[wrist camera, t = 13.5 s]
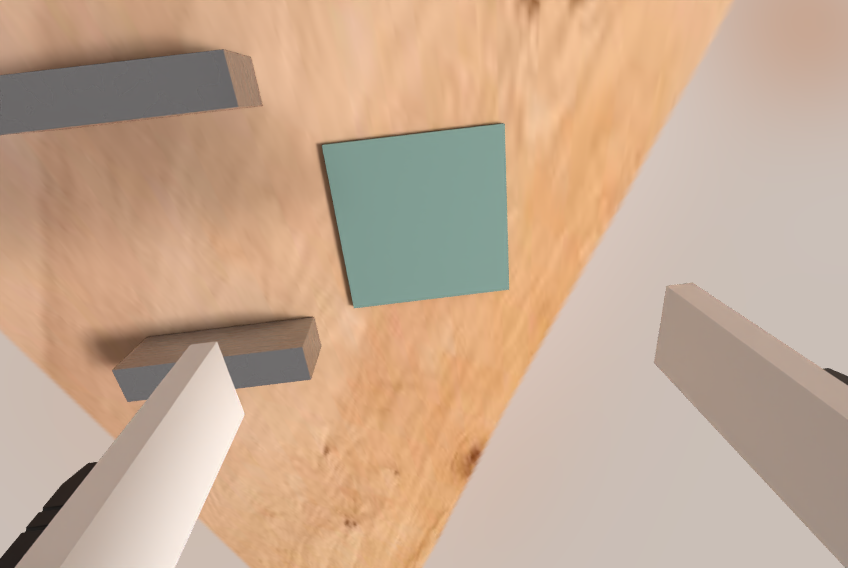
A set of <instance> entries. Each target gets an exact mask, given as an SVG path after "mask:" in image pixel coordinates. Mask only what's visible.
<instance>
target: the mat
mask: <svg viewBox="0 0 848 568" xmlns="http://www.w3.org/2000/svg"><path fill="white" fill-rule="evenodd" d="M322 149H323V154H324V159H325V164H326V169H327V174H328V180H329V185H330V190H331V195H332V200H333V205H334V210H335V215H336V220H337V225H338V230H339V235H340V240H341V245H342V250H343V255H344V261H345V266H346V271H347V276H348V281H349V286H350V291H351V296H352V301H353V306H354V308H360V307H369V306H377V305H385V304H393V303H402V302H410V301H418V300H426V299H435V298H443V297H451V296H460V295H468V294H476V293H484V292H493V291H501V290H509V268H508V231H507V194H506V157H505V124H504V123H501V124H493V125H484V126H476V127H467V128H459V129H450V130H442V131H434V132H425V133H417V134H408V135H400V136H391V137H383V138H374V139H366V140H357V141H349V142H340V143H332V144H324V145H322Z"/></svg>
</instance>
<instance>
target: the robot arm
mask: <svg viewBox="0 0 848 568" xmlns="http://www.w3.org/2000/svg"><path fill="white" fill-rule="evenodd" d="M654 363H655V364H656V366H657V367H658V368H659V369H660V370H661V371H662V372H663V373H664V374H665V375H666V376H667V377H668V378H669V379H670V381H671V382H672V383H674V385H675V386H676V387H677V388H678V389H679V390H680V391H681V392H682V393H683V394H684V395H685V397H686V398H687V399H688V400H689V401H690V402H691V403H692V404H693V405H694V406H695V407H696V408H697V409H698V410H699V412H700V413H701V414H702V415H703V416H704V417H705V418H706V419H707V420H708V421H709V422H710V423H711V424H712V425H713V426H714V428H715V429H716V430H717V431H718V432H719V433H720V434H721V435H722V436H723V437H724V438H725V439H726V440H727V441H728V443H729V444H730V445H731V446H732V447H733V448H734V449H735V450H736V451H737V452H738V453H739V454H740V455H741V457H742V458H743V459H744V460H745V461H746V462H747V463H748V464H749V465H750V466H751V467H752V468H753V469H754V470H755V472H757V474H758V475H759V476H760V477H761V478H762V479H763V480H764V481H765V482H766V483H767V484H768V485H769V487H770V488H772V490H773V491H774V492H775V493H776V494H777V495H778V496H779V497H780V498H781V499H782V500H783V501H784V502H785V504H786V505H787V506H788V507H789V508H790V509H791V510H792V511H793V512H794V513H795V514H796V515H797V516H798V517H799V519H800V520H801V521H802V522H803V523H804V524H805V525H806V526H807V527H808V528H809V529H810V530H811V531H812V533H813V534H814V535H815V536H816V537H817V538H818V539H819V540H820V541H821V542H822V543H823V544H824V545H825V546H826V548H828V550H829V551H830V552H831V553H832V554H833V555H834V556H835V557H836V558H837V559H838V560H839V561H840V563H841V564H842V565H843V566H844V567H845V568H848V376H846V375H844V374H841V373H839V372H836V371H834V370H832V369H829V368H825V369H822V368H820V367H819V366H817V365H816V364H814V363H813V362H811V361H810V360H808V359H807V358H805V357H804V356H802V355H801V354H799V353H798V352H796V351H795V350H793V349H792V348H790V347H789V346H787V345H786V344H784V343H783V342H781V341H779V340H778V339H777V338H775V337H774V336H772V335H771V334H769V333H767V332H766V331H765V330H763V329H762V328H760V327H759V326H757V325H755V324H754V323H753V322H751V321H749V320H748V319H746V318H745V317H744V316H742V315H740V314H739V313H737V312H736V311H734V310H733V309H731V308H730V307H728V306H727V305H725V304H724V303H722V302H721V301H719V300H718V299H716V298H715V297H713V296H712V295H710V294H709V293H707V292H706V291H704V290H703V289H701V288H700V287H698V286H697V285H695V284H694V283H685V284H677V285H669V286H666V292H665V298H664V304H663V311H662V317H661V323H660V329H659V336H658V341H657V348H656V354H655V361H654ZM244 415H245V414H244V411H243V409H242V406H241V403H240V401H239V398H238V395H237V393H236V390H235V387H234V385H233V382H232V380H231V377H230V374H229V372H228V369H227V366H226V364H225V361H224V358H223V356H222V353H221V351H220V348H219V345H218V343H217V341H216V342H208V343H200V344H192V345H190V346H189V347H188V348H187V350H186V351H185V352H184V353H183V355H182V356H181V357H180V358H179V360H178V361H177V362H176V364H175V365H174V366H173V367H172V369H171V370H170V371H169V372H168V374H167V375H166V376H165V378H164V379H163V380H162V381H161V383H160V384H159V385H158V386H157V388H156V389H155V390H154V391H153V393H152V394H151V395H150V397H149V398H148V399H147V400H146V402H145V403H144V404H143V405H142V407H141V408H140V409H139V410H138V412H137V413H136V414H135V416H134V417H133V418H132V419H131V421H130V422H129V423H128V424H127V426H126V427H125V428H124V430H123V431H122V432H121V433H120V435H119V436H118V437H117V438H116V440H115V441H114V442H113V443H112V445H111V446H110V447H109V449H108V450H107V451H106V452H105V454H104V455H103V456H102V458H101V459H100V460H99V461H98V462H93V463H88V464H86V465H85V466H84V467H83V468H82V469H80V470H79V471H78V472H77V473H76V474H74V475H73V476H72V477H71V478H69V479H68V480H67V481H66V482H64V483H63V484H62V485H61V486H60V488H59V489H58V490H57V491H56V492H55V494H54V495H53V496H52V497H51V498H50V500H49V501H48V502H47V503H46V504H45V506H44V507H43V511H42V512H39V513H38V514H37V515H36V516H35V518H34V519H33V520H32V521H31V522H30V524H29V525H28V526H27V527H26V532H25V533H21V534H20V536H19V537H18V538H17V539H16V540H15V541H14V543H13V544H12V545H11V546H10V547H9V549H8V550H7V551H6V552H5V553H4V555H3V556H2V557H1V558H0V568H175V566H176V564H177V561H178V559H179V557H180V555H181V553H182V551H183V548H184V546H185V544H186V542H187V540H188V537H189V535H190V533H191V531H192V528H193V527H194V524H195V522H196V520H197V518H198V516H199V513H200V511H201V509H202V507H203V505H204V502H205V500H206V498H207V496H208V494H209V491H210V489H211V487H212V485H213V483H214V481H215V478H216V476H217V474H218V472H219V470H220V467H221V465H222V463H223V461H224V459H225V456H226V454H227V452H228V450H229V448H230V445H231V443H232V441H233V439H234V437H235V434H236V432H237V430H238V428H239V426H240V424H241V421H242V419H243V417H244Z"/></svg>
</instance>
